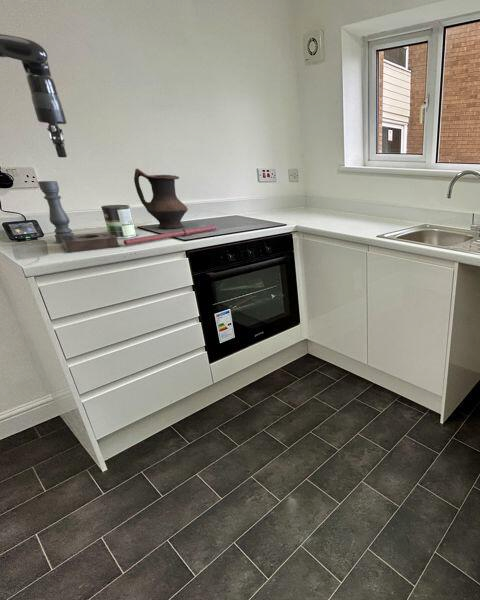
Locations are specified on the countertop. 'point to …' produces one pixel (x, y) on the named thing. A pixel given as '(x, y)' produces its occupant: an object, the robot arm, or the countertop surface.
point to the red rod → (168, 235)
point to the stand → (89, 241)
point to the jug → (162, 200)
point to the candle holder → (55, 209)
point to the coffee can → (119, 221)
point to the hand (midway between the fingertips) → (62, 157)
